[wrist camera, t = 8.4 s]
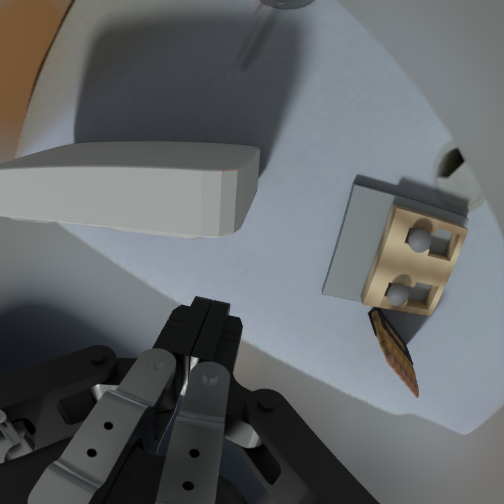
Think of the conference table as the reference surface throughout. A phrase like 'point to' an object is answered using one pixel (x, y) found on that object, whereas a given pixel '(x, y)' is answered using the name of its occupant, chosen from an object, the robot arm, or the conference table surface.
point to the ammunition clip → (394, 350)
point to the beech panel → (411, 261)
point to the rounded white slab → (135, 186)
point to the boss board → (368, 239)
